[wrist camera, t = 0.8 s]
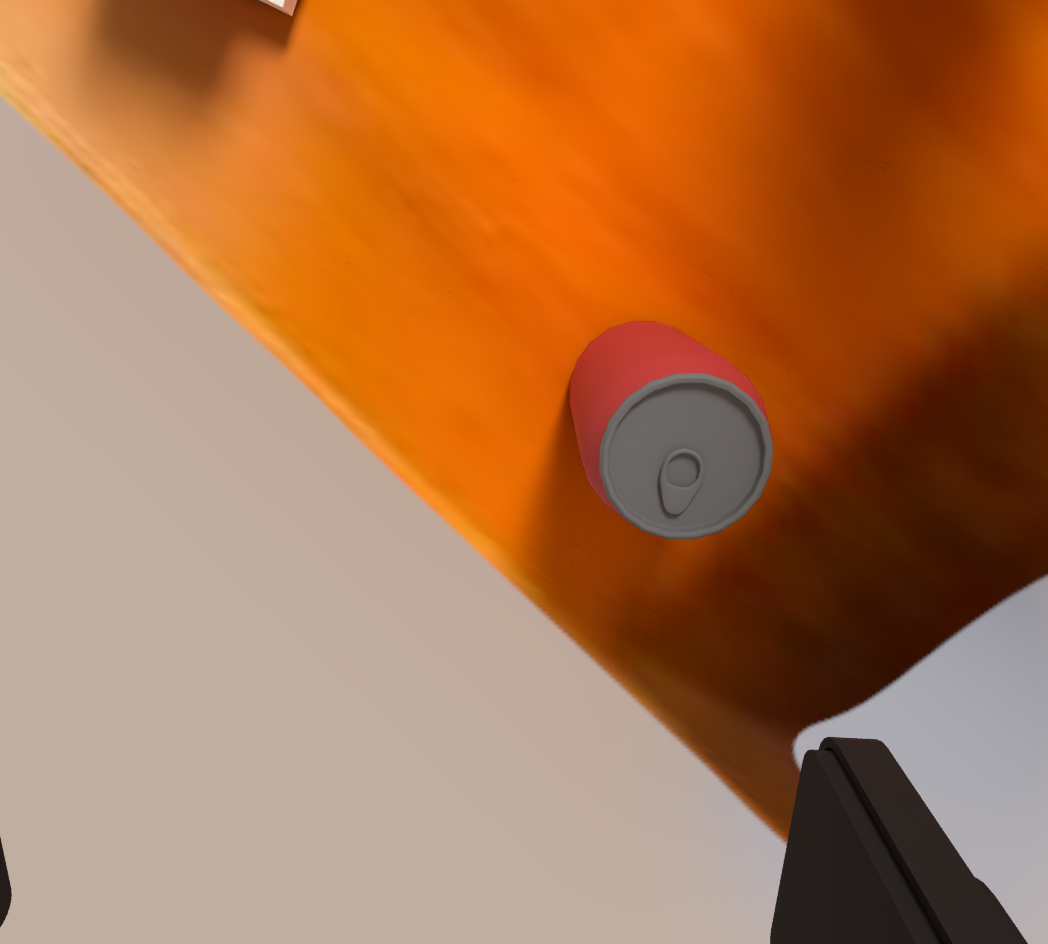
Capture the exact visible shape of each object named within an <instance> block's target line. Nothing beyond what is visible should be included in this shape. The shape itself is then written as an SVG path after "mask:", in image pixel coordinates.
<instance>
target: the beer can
mask: <svg viewBox="0 0 1048 944" xmlns="http://www.w3.org/2000/svg"><path fill="white" fill-rule="evenodd" d="M570 408H571V413H572V418H573V423H574V428H575V433H576V438H577V443H578V448H579V453H580V457H581V461H582V464H583V467H584V470H585V473H586V476H587V479H588V482H589V484H590V485H591V487H592V488H593V489H594V491H595V492H596V493H597V495H598V496H599V498H600V499H601V500H602V502H603V503H604V504H605V505H606V506H607V507H608V508H609V509H611V510H612V511H614V512H615V513H616V514H618V515H619V516H621V517H622V518H624V519H625V520H626V521H628V522H629V523H631V524H632V525H634V526H636V527H637V528H639V529H640V530H642V531H643V532H646V533H649V534H653V535H656V536H659V537H662V538H666V539H696V538H700V537H703V536H707V535H710V534H714V533H717V532H720V531H722V530H723V529H725V528H726V527H728V526H729V525H731V524H733V523H734V522H736V521H737V520H739V519H740V518H742V517H743V516H744V515H745V514H746V513H747V511H748V510H749V509H750V508H751V507H752V506H753V505H754V503H755V502H756V501H757V500H758V499H759V498H760V496H761V494H762V492H763V489H764V487H765V485H766V482H767V480H768V478H769V476H770V473H771V466H772V456H773V442H772V438H771V431H770V427H769V423H768V419H767V415H766V410H765V406H764V403H763V400H762V398H761V397H760V395H759V393H758V392H757V390H756V389H755V387H754V386H753V384H752V383H751V381H750V380H749V378H748V377H747V375H745V374H744V373H743V372H742V371H740V370H739V369H738V368H736V367H735V366H734V365H732V364H731V363H730V362H728V361H727V360H726V359H724V358H723V357H721V356H720V355H718V354H717V353H715V352H713V351H712V350H710V349H708V348H707V347H705V346H704V345H702V344H700V343H699V342H697V341H695V340H694V339H692V338H691V337H689V336H687V335H686V334H684V333H682V332H681V331H679V330H678V329H676V328H673V327H670V326H667V325H664V324H661V323H658V322H655V321H631V322H628V323H625V324H622V325H619V326H616V327H613V328H610V329H608V330H607V331H605V332H604V333H603V334H601V335H600V336H598V337H597V338H596V339H594V340H593V341H592V342H590V344H589V345H588V346H587V348H586V349H585V350H584V352H583V353H582V355H581V356H580V357H579V359H578V360H577V362H576V365H575V368H574V371H573V374H572V377H571V380H570Z"/></svg>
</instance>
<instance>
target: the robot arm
mask: <svg viewBox="0 0 1048 944" xmlns="http://www.w3.org/2000/svg"><path fill="white" fill-rule="evenodd" d="M11 896H12V894H11V886H10V881H9V877H8V871H7V867H6V862H5V857H4V852H3V848H2V843H1V838H0V927H1V925H2V924H3V922H4V920H5V918H6V916H7V914H8V910H9V907H10V903H11ZM770 944H1028V943H1027V942H1026V940H1025V939H1024V938H1023V936H1022V934H1021V933H1020V932H1019V930H1018V929H1017V927H1016V926H1015V924H1014V923H1013V921H1012V920H1011V918H1010V917H1009V916H1008V914H1007V913H1006V911H1005V910H1004V908H1003V907H1002V905H1001V904H1000V902H999V901H998V899H997V898H996V897H995V896H994V894H993V893H992V892H991V891H990V890H989V888H988V887H987V886H986V885H985V884H984V883H983V882H982V881H980V880H979V879H977V878H975V877H974V876H973V874H972V873H971V871H970V870H969V868H968V867H967V865H966V864H965V862H964V861H963V859H962V858H961V856H960V855H959V853H958V852H957V850H956V849H955V847H954V846H953V844H952V843H951V841H950V840H949V839H948V837H947V836H946V834H945V833H944V831H943V830H942V828H941V827H940V825H939V824H938V822H937V821H936V819H935V818H934V816H933V815H932V813H931V812H930V810H929V809H928V807H927V806H926V804H925V803H924V801H923V800H922V798H921V797H920V795H919V794H918V792H917V791H916V789H915V788H914V786H913V785H912V783H911V782H910V780H909V779H908V778H907V776H906V775H905V773H904V772H903V770H902V769H901V767H900V766H899V764H898V763H897V762H896V760H895V758H894V757H893V755H892V754H891V752H890V751H889V749H888V748H887V747H886V746H885V745H884V743H883V742H881V741H879V740H877V739H858V738H839V737H838V738H837V737H827V738H824V740H823V741H822V742H821V744H820V747H819V750H808V751H807V752H806V753H805V755H804V759H803V763H802V768H801V773H800V779H799V784H798V789H797V795H796V800H795V805H794V811H793V816H792V821H791V827H790V832H789V837H788V843H787V848H786V854H785V859H784V864H783V869H782V875H781V880H780V885H779V891H778V896H777V901H776V907H775V912H774V918H773V923H772V928H771V936H770Z"/></svg>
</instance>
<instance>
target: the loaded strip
mask: <svg viewBox="0 0 1048 944" xmlns="http://www.w3.org/2000/svg"><path fill="white" fill-rule="evenodd" d="M260 1H262V2H264V3H266V4H268V5H270V6H272V7H274V8H276V9H278V10H280V11H282V12H284V13H286V14H288V15H290V16H292V15H293V12H294V9H295V6H296V2H297V0H260Z"/></svg>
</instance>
